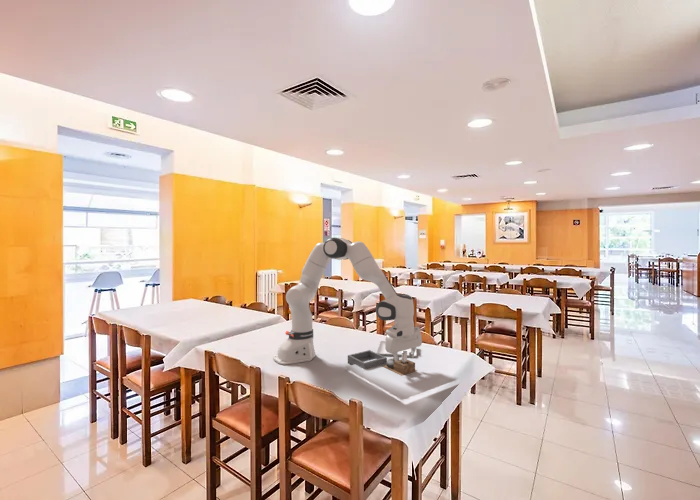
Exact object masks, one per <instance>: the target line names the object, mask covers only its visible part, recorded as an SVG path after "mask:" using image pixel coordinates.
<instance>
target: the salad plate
mask: <svg viewBox="0 0 700 500" xmlns="http://www.w3.org/2000/svg"><path fill="white" fill-rule="evenodd" d="M385 342H386V340H381V341H379V344H378V347H377V349H376V351H375V353H377V354H380V355H382V356H384V357H388V356H389V357H390V356H391V357H394V356H393V354H392V353H389V352H387V351H386V349H385ZM403 351H407V353H410V352H411V349H407V350H403ZM400 353H401V354H400ZM397 356H398V357H401V358H402V351H399V352H398V354H397ZM417 356H418V355H417V347H416V350H415V352H414V357H413V358H416V357H417ZM407 358H411V357H410V356H409V354H407Z"/></svg>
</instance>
